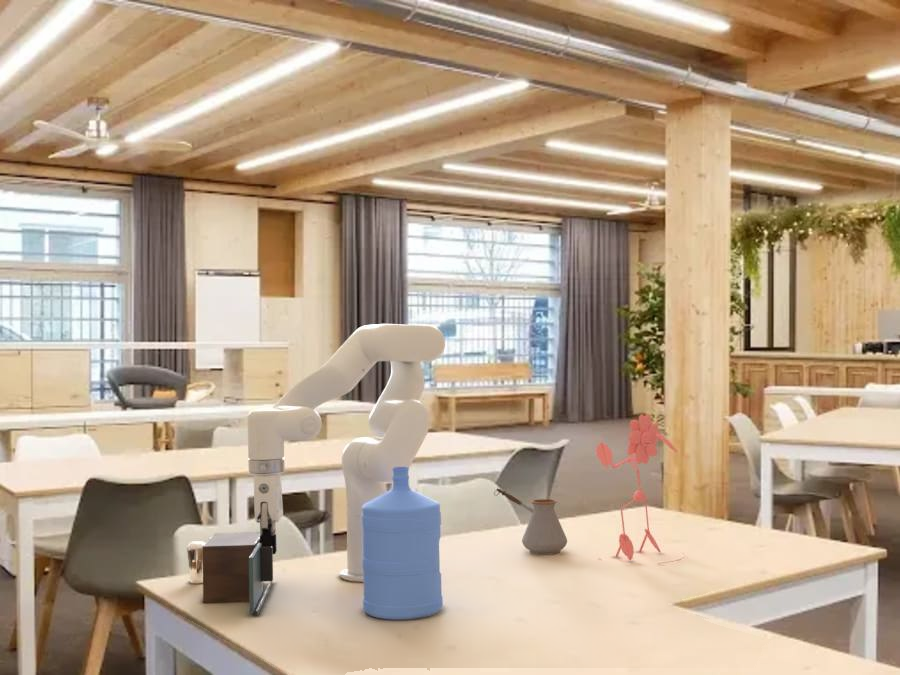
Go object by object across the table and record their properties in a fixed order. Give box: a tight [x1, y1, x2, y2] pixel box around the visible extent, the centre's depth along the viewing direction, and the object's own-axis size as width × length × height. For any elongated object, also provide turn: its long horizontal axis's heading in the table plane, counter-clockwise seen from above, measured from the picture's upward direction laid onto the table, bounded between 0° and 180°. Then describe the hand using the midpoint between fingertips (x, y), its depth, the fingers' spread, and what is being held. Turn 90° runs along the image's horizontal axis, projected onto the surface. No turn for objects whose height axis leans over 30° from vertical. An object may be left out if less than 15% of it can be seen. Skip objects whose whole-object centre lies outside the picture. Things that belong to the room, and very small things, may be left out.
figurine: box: [595, 413, 687, 565], centre depth 240 cm, size 15×26×35 cm, turn 131°
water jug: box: [362, 467, 444, 621], centre depth 195 cm, size 16×16×28 cm
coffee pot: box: [493, 487, 568, 555], centre depth 254 cm, size 21×12×15 cm, turn 49°
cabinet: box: [202, 531, 273, 617], centre depth 206 cm, size 12×28×12 cm, turn 4°
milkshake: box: [186, 537, 211, 585], centre depth 223 cm, size 5×5×10 cm
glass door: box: [248, 543, 274, 614], centre depth 200 cm, size 3×16×11 cm, turn 4°
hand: (268, 553), depth 209 cm, fingers closed
